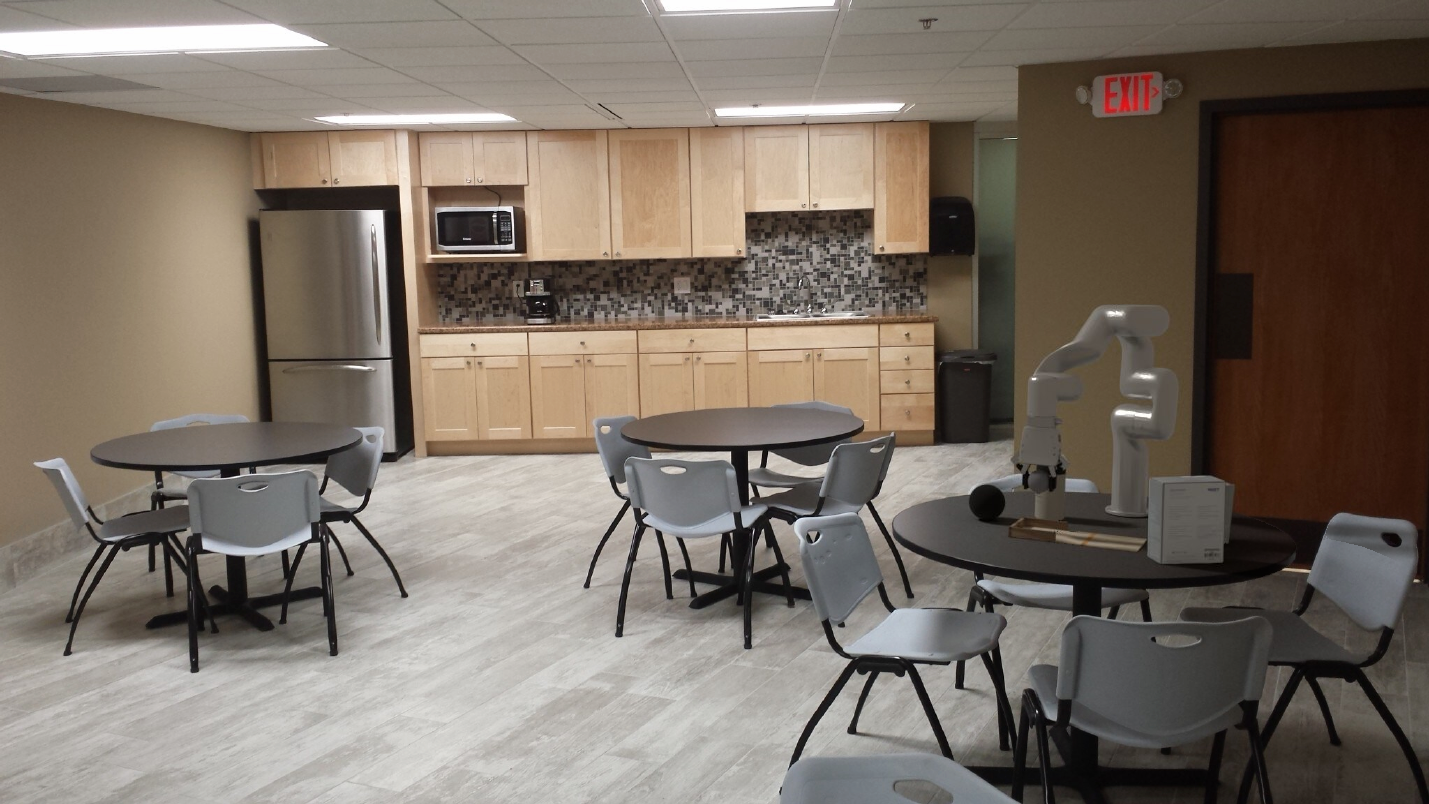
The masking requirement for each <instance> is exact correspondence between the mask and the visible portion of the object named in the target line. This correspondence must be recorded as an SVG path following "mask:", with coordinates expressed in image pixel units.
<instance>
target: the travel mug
mask: <svg viewBox="0 0 1429 804" xmlns="http://www.w3.org/2000/svg"><path fill="white" fill-rule="evenodd" d="M1064 457H1065V458H1066V456H1065V455H1064ZM1062 464H1063V463H1062V462H1061V463H1059V464H1057V465H1056V467H1057V469H1058V468H1059V467H1060V466H1062ZM1035 469H1036V470H1042V471H1045V472H1046V473H1048V474H1049V476H1050V477H1051V473H1050V470H1049V467H1048V466H1040V465H1035ZM1036 470H1035V471H1036ZM1066 476H1067V468H1066V469H1065V470H1063V471H1062V472H1061V473H1060V474H1059V475H1057V486H1056V489H1054V491H1053V492H1049V489H1048V490H1047V491H1045V492H1042V493H1037V492H1035V495H1034V496H1035V500H1034V502H1035V504H1034V518H1039V519H1048V520H1060V521H1063V520H1064V519H1065V511H1066V508H1065V506H1066V505H1065V504H1066V483H1067V482H1066V480H1067V479H1066V478H1067V477H1066Z"/></svg>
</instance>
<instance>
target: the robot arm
mask: <svg viewBox="0 0 1429 804" xmlns="http://www.w3.org/2000/svg"><path fill="white" fill-rule="evenodd" d="M1170 320H1171V319H1170V314H1169V312H1168V309H1166V308H1165V307H1164V306H1162V305H1155V304H1102V305H1099V306H1098V307H1096V308H1095V309H1093V310H1092V312H1091V314H1090V315H1089V317H1088V318H1087V320H1086V321H1085V323H1084V324H1083V326H1082V327H1081V329H1080V330H1079V331H1078V332H1077V334H1076V335H1075V337H1074V338H1073V340H1072V341H1070V342H1068V343H1067V344H1064V345H1063V346H1060V347H1059V348H1058V349H1056V350H1055V351H1053V352H1051V353H1049V354H1048V355H1047V356H1045V358H1043V360H1042V361H1041V362H1040V364H1039V365H1038V366H1037V368H1036V369H1035V371H1034V373H1033V375H1031V376H1030V377H1029V378H1028V382H1027V398H1026V399H1027V401H1026V402H1027V403H1026V425H1025V426H1023V429H1022V434H1021V440H1020V448H1019V450H1018V452H1016V453H1015V454H1014V455H1013V456H1012V457H1011V458H1010V462H1011V463H1012V464H1013V465H1014V466H1015V467H1016V469H1018V471H1019V472H1020V474H1021V475H1022V477H1021V479H1022V480H1021V486H1023V490H1028V489H1030V488H1029V486H1028V482H1027V480H1028V477H1029V475H1030V474H1031V473H1030V472H1029V470H1030V467H1031V466H1037V465H1040V466H1048V467H1049V470H1050V473H1051V477H1049V492H1053V491H1054V489H1056V486H1057V475H1059V474H1060V473H1061V472H1062V471H1063V470H1065V469H1066V470H1067V468H1068V467H1070V465H1071V462H1070V461H1069V460H1068V459H1067V458H1066V456H1065V455H1064V454H1063V452H1062V451H1063V450H1062V436H1061V435H1062V434H1061V430H1060V427H1057V426H1058V425H1062V424H1063V419H1061V418H1059V417H1058V402H1060V403H1074V402H1076V401H1079V400H1080V398H1082V396H1084V393H1085V383H1084V382H1083V380H1082V378H1080V377H1079V376H1078V375H1075V374H1071V373H1065V372H1067V371H1069V370H1072V369H1075V368H1078V367H1082V366H1087V365H1089V364H1092V363H1094V362H1096V361H1099V360H1100V359H1101V357H1102V356H1103V355H1104V353H1105V351H1106V350H1107V348H1108V347H1109V345H1110V344H1111V343H1112V341H1113V340H1114V338H1116V337H1117V339H1118V341H1119V344H1120V347H1121V364H1120V373H1119V375H1120V376H1119V392H1120V394H1121V395H1122V396H1123V397H1124V398H1126V399H1131V400H1138V401H1139V400H1140V401H1148V402H1149V401H1151V402H1152V405H1147V404H1139V403H1123V404H1119V405H1117V406H1116V407H1114V409H1113V410H1112V412H1111V414H1110V429H1111V433H1112V440H1113V441H1112V443H1113V445H1112V447H1113V448H1112V450H1113V451H1112V475H1111V476H1112V477H1111V478H1112V479H1111V502H1110V505H1106V506H1105V512H1106V513H1107V514H1110V515H1114V516H1118V517H1125V518H1126V517H1127V518H1144V517H1149V507H1148V506H1147V503H1148V484H1149V483H1148V481H1149V480H1148V478H1149V477H1148V475H1149V457H1150V454H1149V449H1148V446H1147V445H1146V443H1145V440H1150V441H1158V442H1161V441H1162V442H1163V441H1167V440H1169V439H1171V437H1172V435H1173V434H1174V431H1175V428H1176V422H1177V421H1176V420H1177V413H1178V403H1179V400H1178V399H1179V393H1180V391H1179V390H1180V385H1179V380H1178V377H1177V374H1176V373H1175V372H1174V371H1173V370H1172V369H1169V368H1166V367H1155V366H1154V363H1155V362H1154V360H1155V348H1154V344H1153V342H1152V340H1151V338H1150V337H1159V336H1161V335H1163V334H1165V332H1167V330H1168V328H1169V326H1170V322H1171V321H1170ZM1064 456H1065V457H1064ZM1061 462H1062V463H1063V464H1062V466H1060V467H1059V468H1058V469H1057V467H1056V465H1057V464H1059V463H1061Z"/></svg>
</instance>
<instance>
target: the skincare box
mask: <svg viewBox="0 0 1429 804" xmlns="http://www.w3.org/2000/svg"><path fill="white" fill-rule="evenodd" d="M1235 487H1236V485H1235V484H1233V483H1230V482H1226V492H1225V520H1224V545H1225V543H1226V544H1229V542H1230V532H1231V525H1232V515H1233V507H1234V506H1233V505H1234V498H1235V497H1234V496H1235V491H1236V489H1235Z"/></svg>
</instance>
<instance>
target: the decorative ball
mask: <svg viewBox="0 0 1429 804" xmlns="http://www.w3.org/2000/svg"><path fill="white" fill-rule="evenodd" d="M1005 497H1006V496H1005V495H1004V493H1003V492H1002V490H1001V489H1000V488H998V487H997V486H995V485H992V484H987V483H986V484H981V485H978V486H976V487H975V488H974V489H973V490H972V491H971V493H970V495H969V497H968V506H969V509H970V511H971V513H972V514H973V515H974V516H975V517H976V518H978V519H980V520H983V521H990V520H991V521H992V520H994V519H997V518H999V517H1000V516H1001V515H1002V514H1003V512H1004V510H1005V508H1006V498H1005Z"/></svg>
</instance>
